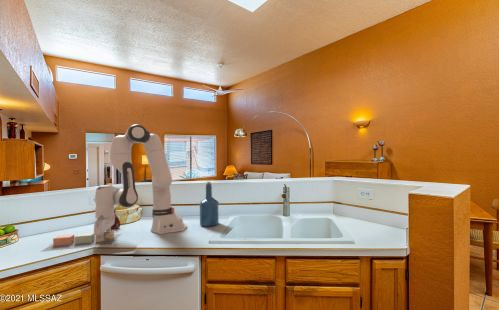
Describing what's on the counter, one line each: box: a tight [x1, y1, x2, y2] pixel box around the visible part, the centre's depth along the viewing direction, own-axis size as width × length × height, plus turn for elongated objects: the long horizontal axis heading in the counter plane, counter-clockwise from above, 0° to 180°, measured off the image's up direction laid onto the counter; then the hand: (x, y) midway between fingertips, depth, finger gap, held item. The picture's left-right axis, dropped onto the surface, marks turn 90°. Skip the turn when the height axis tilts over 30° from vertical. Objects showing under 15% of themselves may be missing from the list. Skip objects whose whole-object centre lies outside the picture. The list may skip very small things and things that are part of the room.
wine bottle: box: [199, 181, 220, 228], centre depth 156 cm, size 14×13×30 cm
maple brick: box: [95, 230, 115, 242], centre depth 127 cm, size 8×4×4 cm, turn 104°
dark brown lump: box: [110, 213, 121, 230], centre depth 149 cm, size 7×12×10 cm, turn 84°
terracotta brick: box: [52, 234, 75, 246], centre depth 122 cm, size 8×4×4 cm, turn 104°
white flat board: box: [40, 233, 122, 252], centre depth 124 cm, size 32×17×1 cm, turn 104°
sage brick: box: [74, 232, 95, 244], centre depth 124 cm, size 8×4×4 cm, turn 104°
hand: (105, 237), depth 127 cm, fingers open, 6 cm apart
